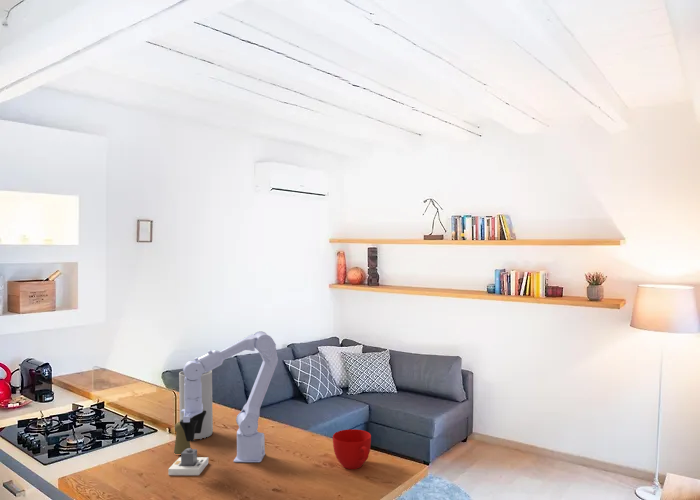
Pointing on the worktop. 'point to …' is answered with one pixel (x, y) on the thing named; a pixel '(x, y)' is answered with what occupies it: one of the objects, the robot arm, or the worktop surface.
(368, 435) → the ceramic cup
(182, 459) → the plug
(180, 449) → the olive tapered pepper mill
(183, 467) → the socket plate
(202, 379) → the cylinder vase
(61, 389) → the worktop surface
